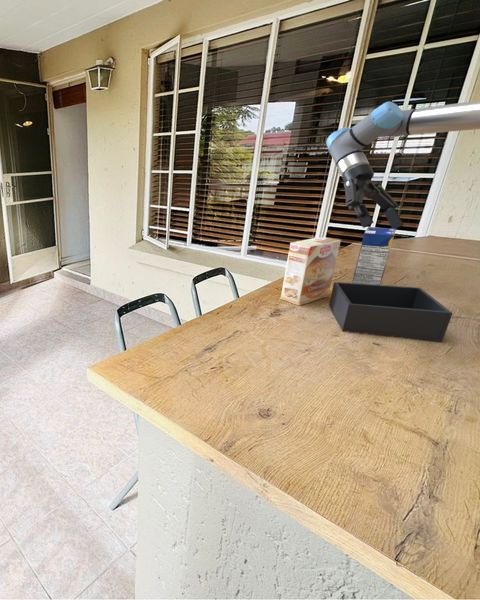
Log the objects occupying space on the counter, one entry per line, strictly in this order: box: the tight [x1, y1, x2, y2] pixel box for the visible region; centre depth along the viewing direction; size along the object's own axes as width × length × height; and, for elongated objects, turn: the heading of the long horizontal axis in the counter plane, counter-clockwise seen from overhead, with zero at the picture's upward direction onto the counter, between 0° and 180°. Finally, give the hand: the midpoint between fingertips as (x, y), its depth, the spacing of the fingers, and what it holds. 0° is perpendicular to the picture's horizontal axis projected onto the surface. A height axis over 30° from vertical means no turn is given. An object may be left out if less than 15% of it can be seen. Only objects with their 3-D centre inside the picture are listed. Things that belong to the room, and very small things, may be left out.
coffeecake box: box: [280, 236, 342, 306], centre depth 114 cm, size 15×7×20 cm, turn 114°
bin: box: [328, 281, 453, 343], centre depth 97 cm, size 21×19×8 cm
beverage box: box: [351, 226, 397, 285], centre depth 111 cm, size 7×11×22 cm, turn 138°
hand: (383, 226), depth 106 cm, fingers open, 13 cm apart
